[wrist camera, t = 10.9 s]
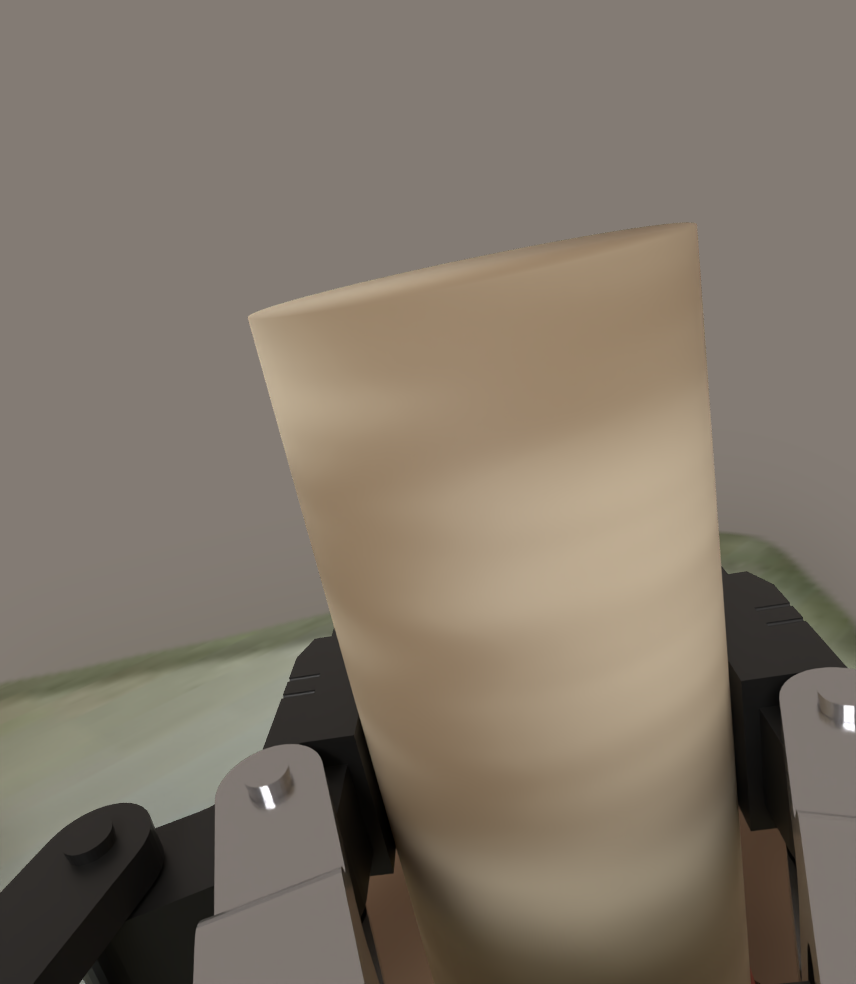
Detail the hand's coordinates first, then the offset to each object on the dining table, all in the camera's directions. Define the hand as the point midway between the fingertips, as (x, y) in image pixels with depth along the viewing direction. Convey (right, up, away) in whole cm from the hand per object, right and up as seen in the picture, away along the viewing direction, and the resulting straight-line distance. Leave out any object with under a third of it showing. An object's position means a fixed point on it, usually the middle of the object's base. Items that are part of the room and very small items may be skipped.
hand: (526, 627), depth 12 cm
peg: (+1, -8, 0) cm, 8 cm away
